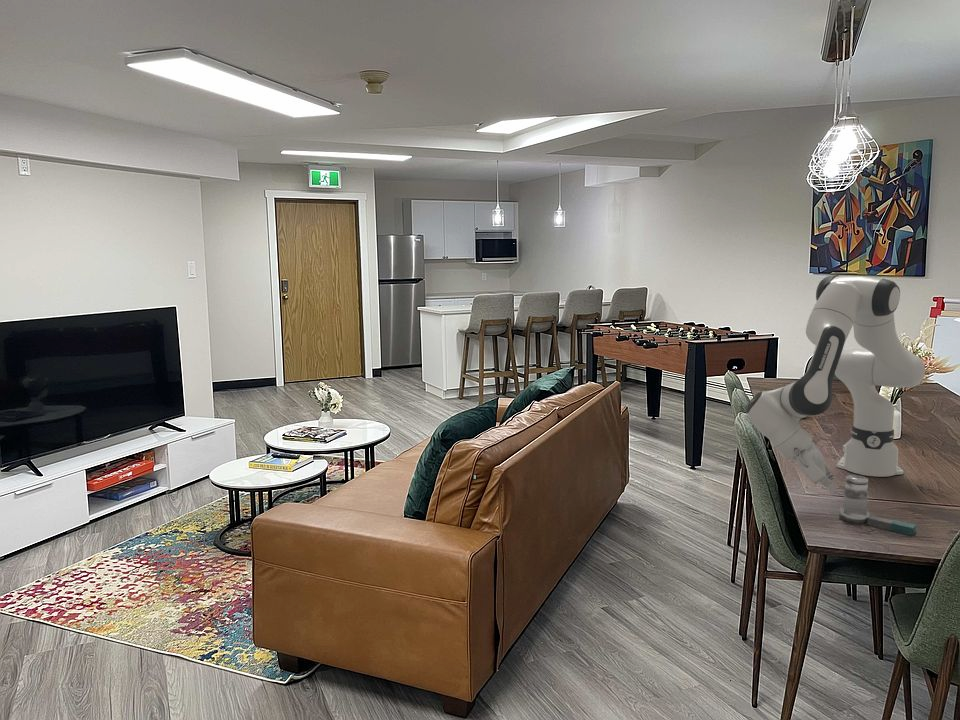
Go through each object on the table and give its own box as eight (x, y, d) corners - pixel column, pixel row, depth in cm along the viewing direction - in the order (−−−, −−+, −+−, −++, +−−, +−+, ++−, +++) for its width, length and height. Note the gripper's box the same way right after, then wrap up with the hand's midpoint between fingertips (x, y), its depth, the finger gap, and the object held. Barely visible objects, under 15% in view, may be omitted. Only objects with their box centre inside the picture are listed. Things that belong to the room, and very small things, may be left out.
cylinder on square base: (842, 506, 192) (845, 473, 190) (865, 508, 190) (867, 476, 188) (843, 512, 187) (846, 479, 186) (866, 515, 185) (869, 482, 183)
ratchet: (835, 520, 189) (836, 500, 188) (844, 513, 193) (845, 493, 193) (910, 538, 176) (912, 517, 176) (917, 530, 181) (919, 509, 180)
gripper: (805, 446, 181) (845, 488, 178) (804, 428, 199) (841, 466, 197) (784, 461, 183) (824, 503, 181) (786, 442, 202) (822, 480, 199)
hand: (833, 484), depth 189 cm, fingers open, 8 cm apart
